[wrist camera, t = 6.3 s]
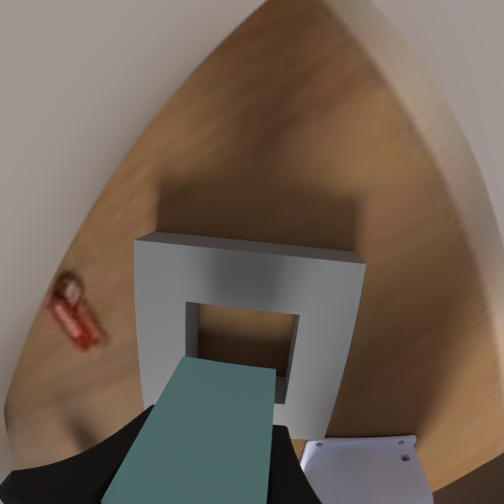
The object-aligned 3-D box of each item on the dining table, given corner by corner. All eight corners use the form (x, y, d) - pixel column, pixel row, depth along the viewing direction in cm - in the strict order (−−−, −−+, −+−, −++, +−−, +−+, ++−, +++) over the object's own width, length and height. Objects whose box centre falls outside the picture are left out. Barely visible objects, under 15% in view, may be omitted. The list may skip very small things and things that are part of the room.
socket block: (354, 251, 18) (366, 264, 15) (320, 412, 21) (323, 440, 18) (155, 231, 19) (134, 240, 16) (159, 391, 22) (145, 414, 19)
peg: (276, 369, 13) (262, 539, 5) (265, 433, 14) (248, 578, 6) (182, 356, 13) (100, 501, 5) (184, 421, 14) (129, 552, 6)
